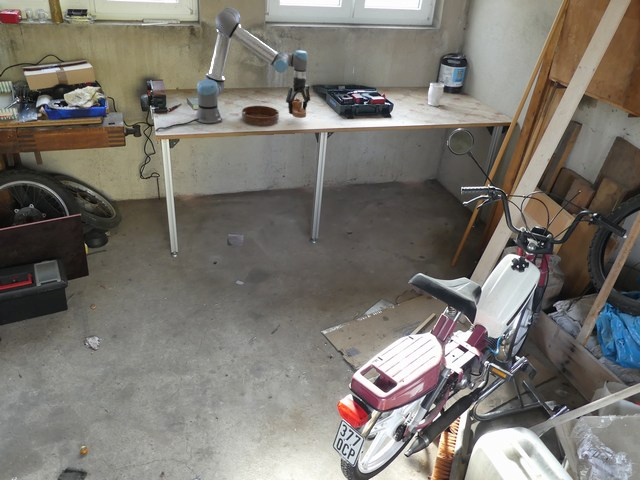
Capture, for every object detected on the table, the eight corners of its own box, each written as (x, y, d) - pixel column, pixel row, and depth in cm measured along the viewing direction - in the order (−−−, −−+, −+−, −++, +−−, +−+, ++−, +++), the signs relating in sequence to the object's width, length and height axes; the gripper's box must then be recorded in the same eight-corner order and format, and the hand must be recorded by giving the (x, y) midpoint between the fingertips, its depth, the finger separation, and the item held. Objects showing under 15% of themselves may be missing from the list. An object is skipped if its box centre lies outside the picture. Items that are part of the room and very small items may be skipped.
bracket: (287, 108, 343) (287, 97, 339) (299, 108, 345) (300, 97, 342) (295, 118, 329) (295, 107, 325) (307, 117, 331) (308, 106, 328)
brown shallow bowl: (252, 128, 323) (252, 119, 320) (235, 116, 339) (235, 108, 336) (285, 123, 335) (285, 115, 332) (267, 112, 350) (267, 104, 347)
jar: (425, 105, 391) (429, 85, 383) (426, 101, 400) (430, 81, 392) (440, 107, 389) (444, 87, 381) (440, 103, 398) (444, 83, 390)
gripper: (287, 80, 317) (285, 116, 329) (318, 77, 328) (314, 112, 340) (281, 76, 322) (279, 112, 334) (311, 74, 333) (308, 109, 345)
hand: (297, 112), depth 337 cm, fingers closed on bracket, 9 cm apart
